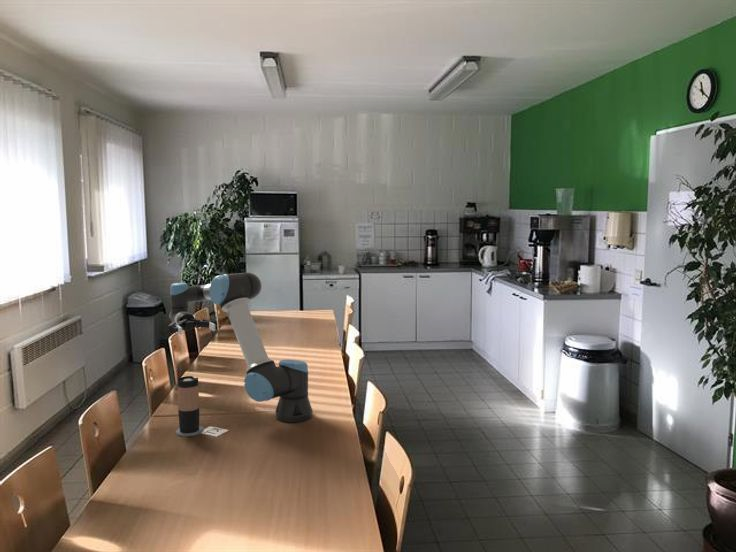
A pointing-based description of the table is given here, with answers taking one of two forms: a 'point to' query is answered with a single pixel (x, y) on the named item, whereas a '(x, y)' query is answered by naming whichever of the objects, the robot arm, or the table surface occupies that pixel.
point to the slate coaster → (189, 433)
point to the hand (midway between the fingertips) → (198, 329)
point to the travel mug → (188, 404)
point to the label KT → (214, 431)
